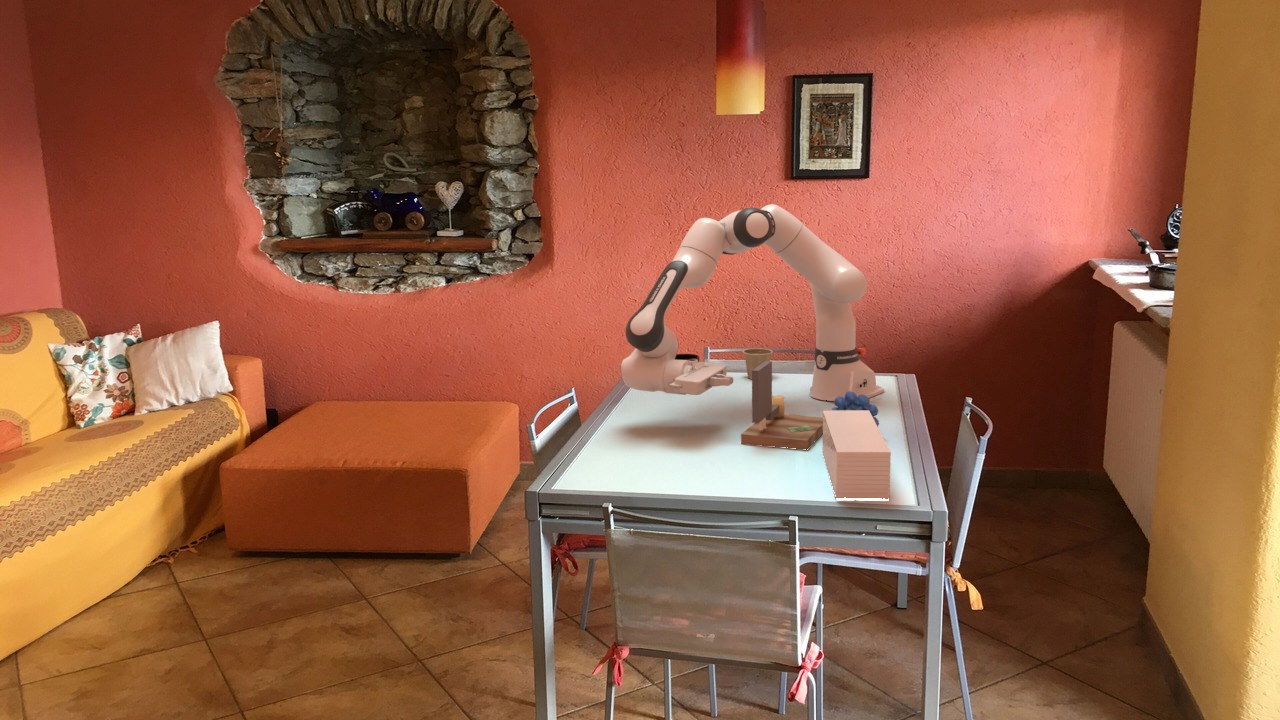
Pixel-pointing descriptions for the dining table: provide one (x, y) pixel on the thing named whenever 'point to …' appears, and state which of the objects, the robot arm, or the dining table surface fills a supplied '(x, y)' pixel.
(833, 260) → the robot arm
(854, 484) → the stack of papers
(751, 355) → the flower pot
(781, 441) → the wooden cutting board
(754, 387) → the paddle
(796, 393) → the dining table surface
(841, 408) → the grapes
